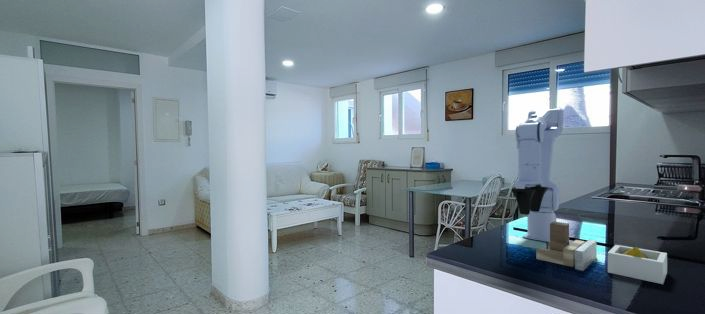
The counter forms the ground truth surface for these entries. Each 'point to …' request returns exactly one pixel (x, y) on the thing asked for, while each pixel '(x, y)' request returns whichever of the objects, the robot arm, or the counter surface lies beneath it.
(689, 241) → the counter surface
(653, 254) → the holder
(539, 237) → the robot arm
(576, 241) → the cradle
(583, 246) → the rail
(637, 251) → the yellow tapered piece
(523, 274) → the counter surface
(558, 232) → the peg
